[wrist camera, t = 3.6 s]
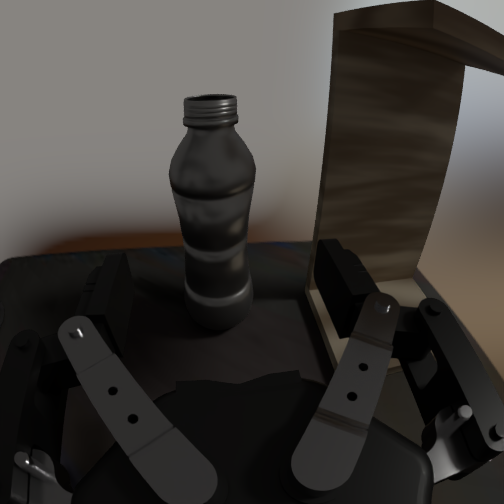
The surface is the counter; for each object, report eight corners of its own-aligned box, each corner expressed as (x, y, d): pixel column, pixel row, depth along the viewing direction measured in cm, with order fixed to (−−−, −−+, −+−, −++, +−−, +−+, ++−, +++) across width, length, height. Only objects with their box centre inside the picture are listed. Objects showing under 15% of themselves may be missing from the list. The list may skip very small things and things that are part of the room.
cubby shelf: (453, 354, 26) (560, 77, 10) (340, 386, 24) (433, -1, 8) (404, 279, 35) (458, 49, 20) (304, 291, 34) (333, 13, 18)
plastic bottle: (180, 335, 28) (145, 108, 17) (195, 287, 34) (179, 93, 22) (249, 342, 28) (254, 105, 16) (255, 292, 33) (261, 92, 22)
